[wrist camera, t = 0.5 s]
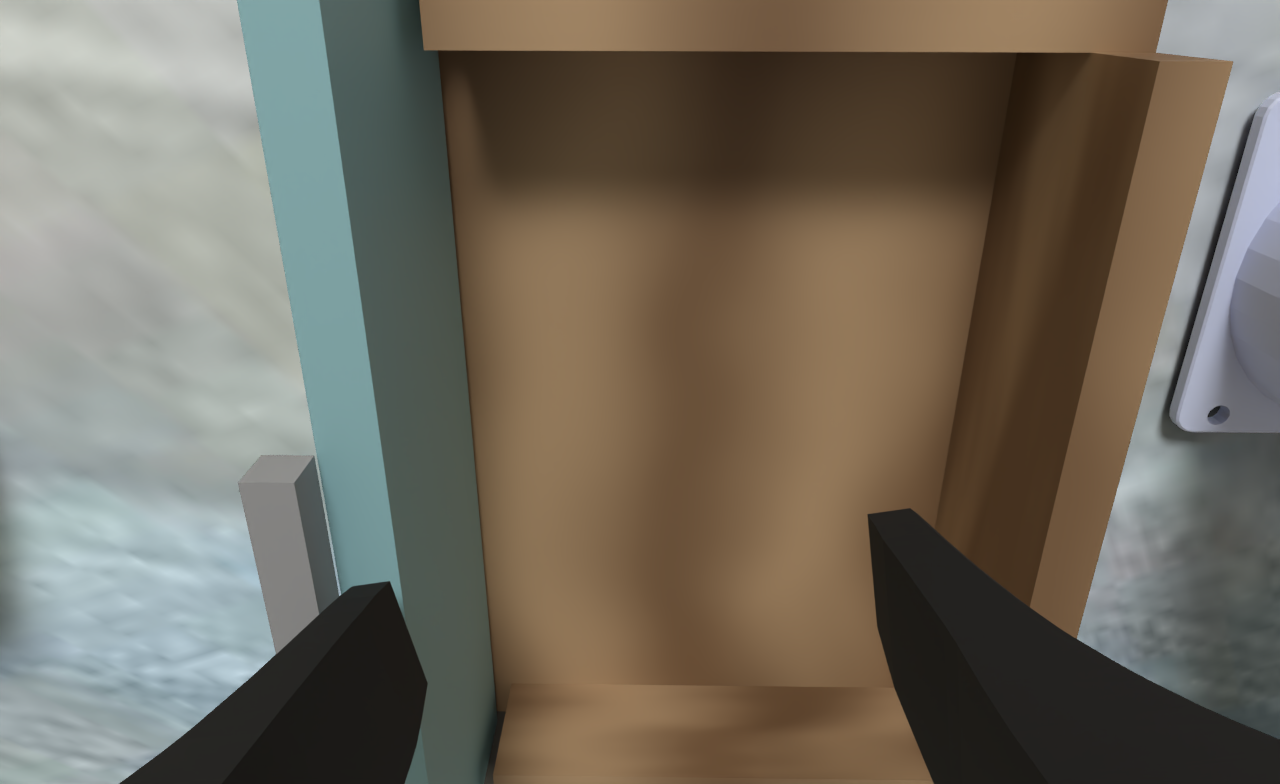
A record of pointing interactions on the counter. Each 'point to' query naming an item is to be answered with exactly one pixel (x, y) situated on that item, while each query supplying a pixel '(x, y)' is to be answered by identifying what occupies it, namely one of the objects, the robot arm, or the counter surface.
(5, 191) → the counter surface
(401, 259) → the tailgate
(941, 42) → the cart
